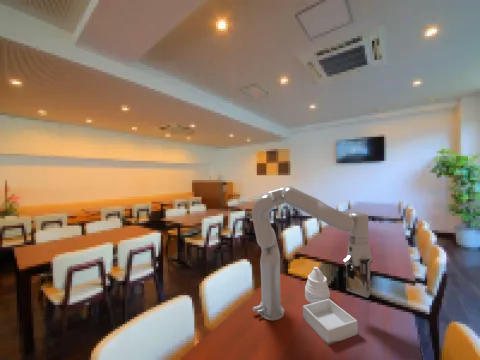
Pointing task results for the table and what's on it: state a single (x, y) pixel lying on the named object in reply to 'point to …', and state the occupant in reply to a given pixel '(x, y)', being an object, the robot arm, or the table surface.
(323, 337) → the bin
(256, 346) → the table surface
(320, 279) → the honey pot
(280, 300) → the robot arm
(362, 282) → the coffee box
